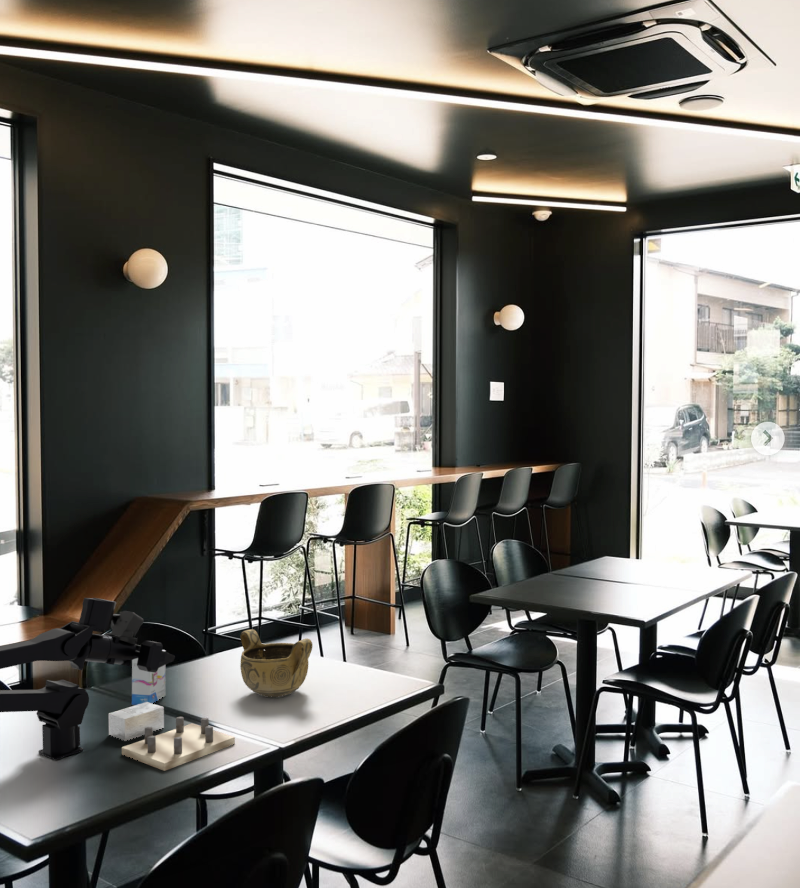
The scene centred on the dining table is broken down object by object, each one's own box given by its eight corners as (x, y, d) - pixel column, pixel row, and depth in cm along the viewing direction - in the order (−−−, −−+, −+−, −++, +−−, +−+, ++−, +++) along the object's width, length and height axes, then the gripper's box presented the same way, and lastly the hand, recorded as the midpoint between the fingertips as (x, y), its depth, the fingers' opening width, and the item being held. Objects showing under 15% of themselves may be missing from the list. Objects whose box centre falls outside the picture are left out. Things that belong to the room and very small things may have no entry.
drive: (125, 742, 191) (124, 719, 191) (108, 736, 195) (108, 713, 195) (164, 729, 199) (163, 706, 199) (147, 723, 203) (147, 701, 202)
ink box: (150, 706, 214) (149, 657, 213) (131, 705, 215) (130, 656, 214) (166, 695, 222) (166, 648, 222) (148, 694, 223) (147, 647, 223)
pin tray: (164, 770, 175) (164, 748, 175) (121, 754, 183) (121, 732, 183) (234, 744, 189) (234, 722, 189) (192, 730, 198) (191, 709, 197)
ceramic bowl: (331, 693, 223) (330, 633, 222) (283, 712, 209) (282, 648, 209) (267, 678, 236) (267, 622, 236) (218, 694, 223) (217, 634, 222)
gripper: (136, 615, 188) (194, 624, 199) (87, 606, 199) (144, 615, 211) (124, 669, 185) (184, 675, 197) (75, 657, 197) (134, 663, 209)
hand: (161, 655), depth 204 cm, fingers open, 9 cm apart
